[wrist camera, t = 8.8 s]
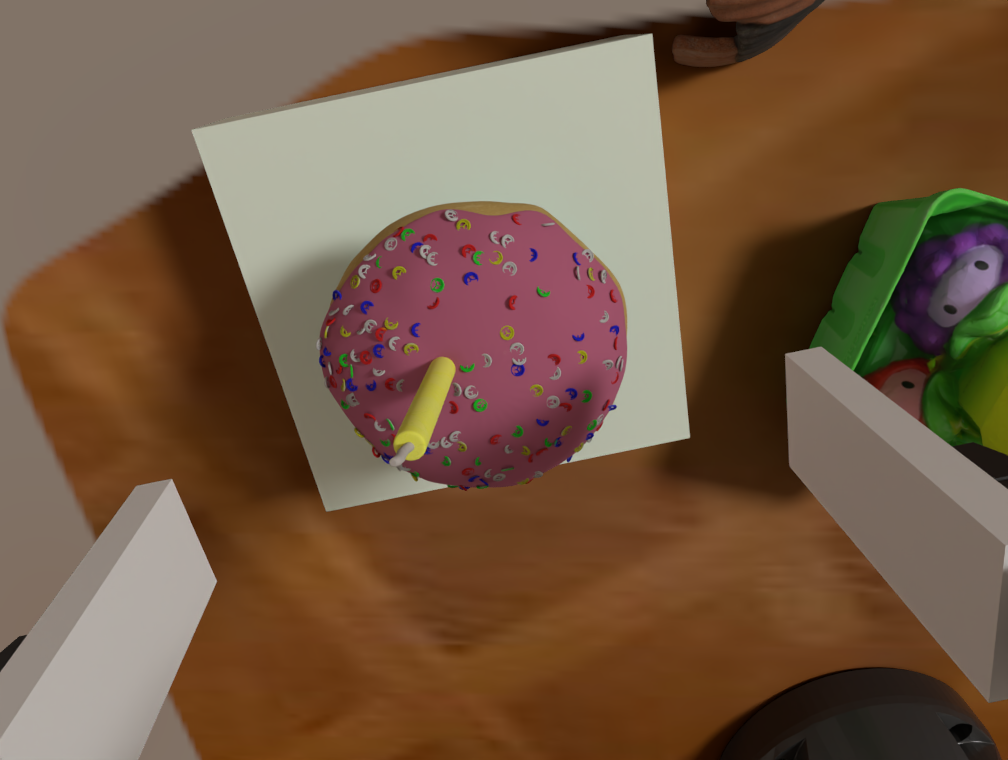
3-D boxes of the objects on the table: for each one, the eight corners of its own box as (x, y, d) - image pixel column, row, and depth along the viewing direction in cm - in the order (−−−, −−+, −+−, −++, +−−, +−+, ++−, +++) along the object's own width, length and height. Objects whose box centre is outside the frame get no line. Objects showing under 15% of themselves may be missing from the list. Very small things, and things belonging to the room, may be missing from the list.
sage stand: (661, 392, 31) (690, 437, 28) (339, 457, 31) (326, 511, 28) (622, 35, 25) (652, 33, 22) (227, 118, 26) (191, 129, 22)
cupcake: (309, 361, 25) (207, 601, 14) (400, 124, 22) (359, 200, 11) (533, 444, 27) (592, 710, 16) (644, 236, 24) (806, 393, 13)
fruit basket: (860, 159, 28) (1101, 225, 18) (1055, 216, 29) (1381, 307, 19) (744, 419, 32) (884, 593, 22) (919, 457, 34) (1126, 636, 24)
